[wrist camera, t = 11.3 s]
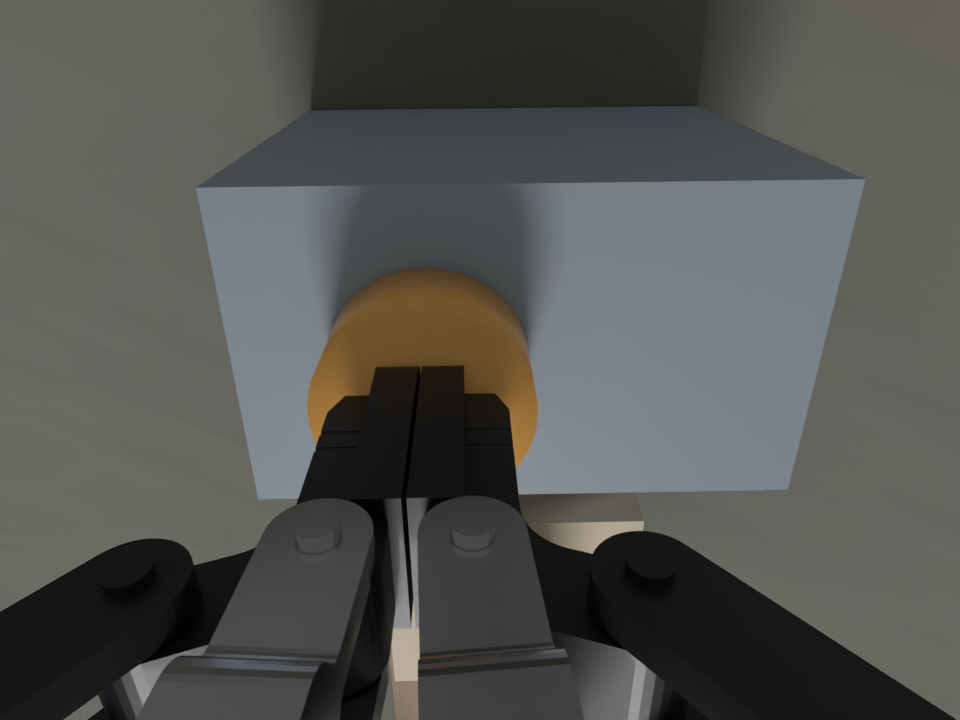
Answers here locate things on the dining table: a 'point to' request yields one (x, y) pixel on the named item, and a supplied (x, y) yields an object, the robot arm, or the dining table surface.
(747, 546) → the dining table surface
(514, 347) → the button
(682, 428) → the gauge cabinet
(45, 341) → the dining table surface
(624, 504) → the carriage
